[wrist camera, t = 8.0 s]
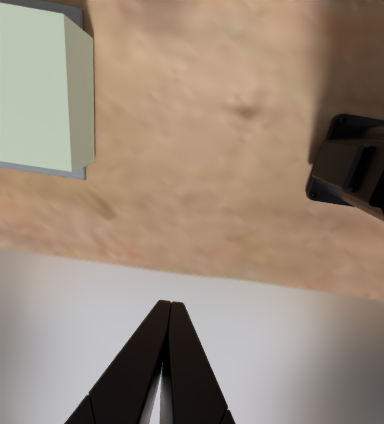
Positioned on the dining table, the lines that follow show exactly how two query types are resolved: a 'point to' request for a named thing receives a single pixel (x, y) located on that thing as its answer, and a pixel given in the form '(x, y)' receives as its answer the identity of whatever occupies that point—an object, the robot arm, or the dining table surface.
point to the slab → (45, 90)
